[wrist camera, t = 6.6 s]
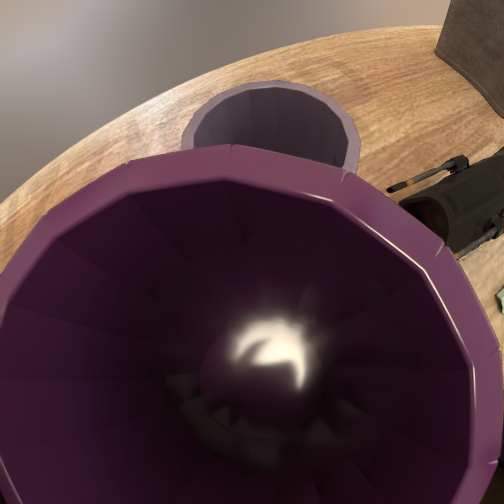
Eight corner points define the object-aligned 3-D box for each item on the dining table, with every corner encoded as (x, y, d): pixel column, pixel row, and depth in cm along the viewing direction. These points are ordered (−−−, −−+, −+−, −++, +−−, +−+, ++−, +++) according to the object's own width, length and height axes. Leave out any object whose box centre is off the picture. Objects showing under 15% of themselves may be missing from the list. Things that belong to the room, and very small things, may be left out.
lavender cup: (282, 315, 20) (285, 256, 9) (211, 256, 22) (146, 152, 11) (340, 243, 21) (389, 129, 10) (270, 192, 23) (258, 64, 12)
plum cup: (267, 469, 12) (229, 667, 1) (167, 382, 14) (-59, 389, 2) (359, 369, 13) (568, 367, 2) (255, 285, 15) (184, 80, 4)
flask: (444, 49, 30) (473, -45, 13) (514, 116, 25) (568, 22, 8) (430, 50, 29) (458, -51, 13) (504, 121, 25) (561, 18, 8)
